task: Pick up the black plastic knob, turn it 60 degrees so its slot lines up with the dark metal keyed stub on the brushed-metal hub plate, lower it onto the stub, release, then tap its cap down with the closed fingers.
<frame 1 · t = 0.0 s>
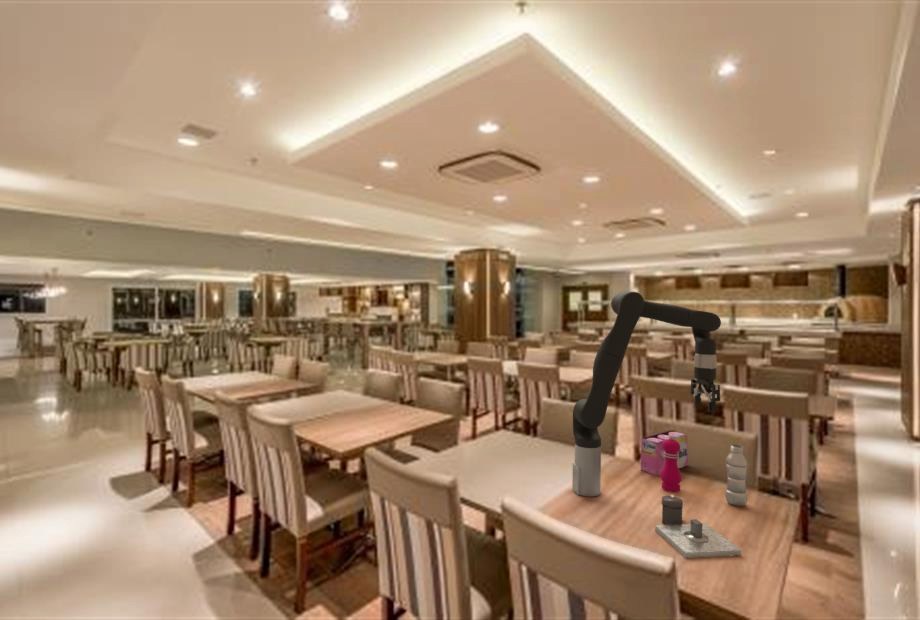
hand: (704, 409, 179), 29 cm above the table, fingers open, 8 cm apart
pepper mill: (670, 489, 177), on the table
plastic bottle: (736, 504, 164), on the table
gum box: (664, 468, 200), on the table
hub: (696, 542, 138), on the table
knob: (671, 521, 151), on the table
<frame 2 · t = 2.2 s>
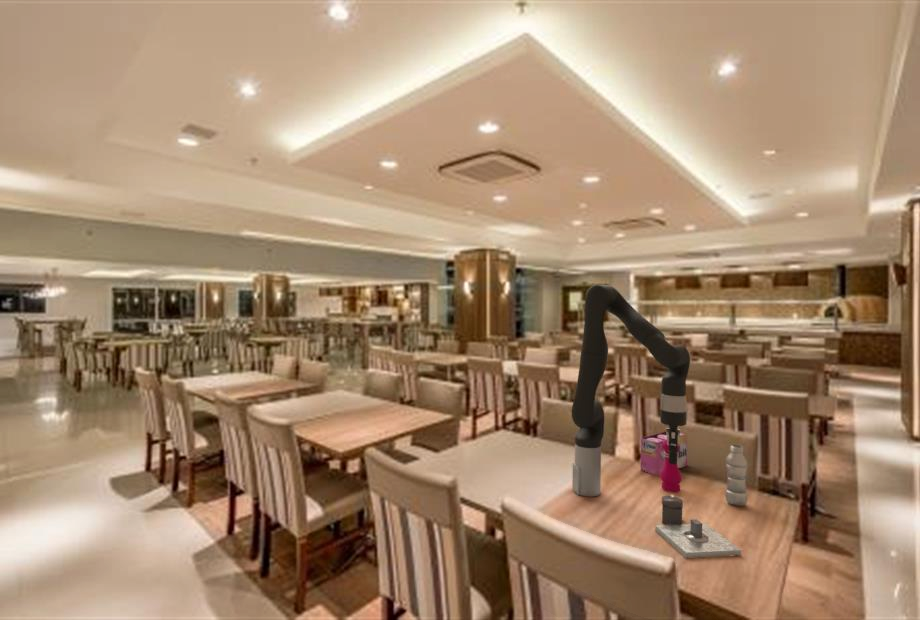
hand: (672, 460, 151), 19 cm above the table, fingers open, 8 cm apart
nothing on the table moved.
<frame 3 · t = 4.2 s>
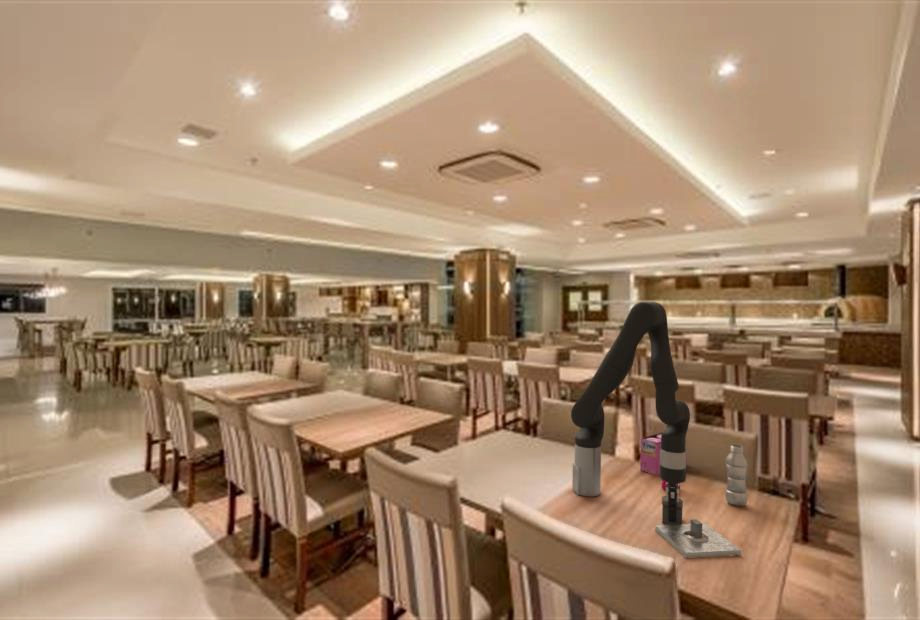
hand: (672, 517, 151), 1 cm above the table, fingers closed on knob, 6 cm apart
knob: (672, 521, 151), on the table, touching gripper
everything else where it was.
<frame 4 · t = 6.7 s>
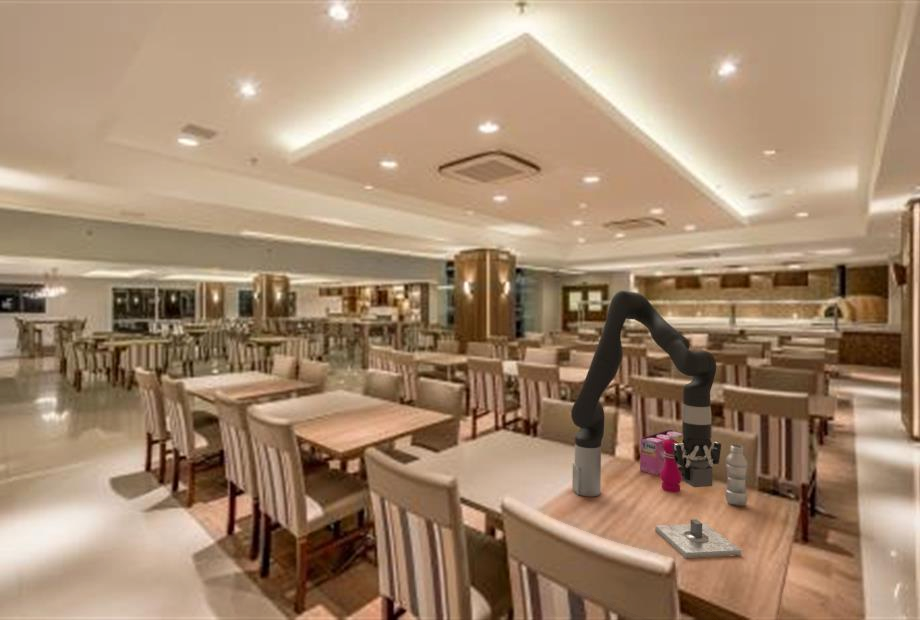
hand: (696, 478, 138), 18 cm above the table, fingers closed on knob, 6 cm apart
knob: (696, 483, 138), point 17 cm above the table, touching gripper
everything else where it was.
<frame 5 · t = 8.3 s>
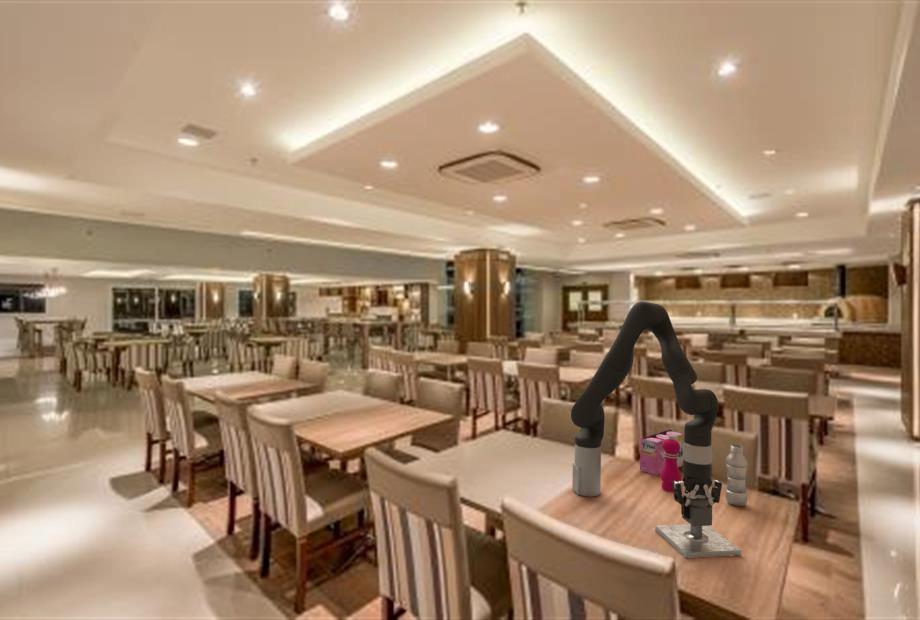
hand: (696, 517, 137), 7 cm above the table, fingers closed on knob, 6 cm apart
knob: (696, 521, 137), point 6 cm above the table, touching gripper
everything else where it was.
when the fingers open (4 cm above the table, at t = 9.5 s): knob stays where it is, resting on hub.
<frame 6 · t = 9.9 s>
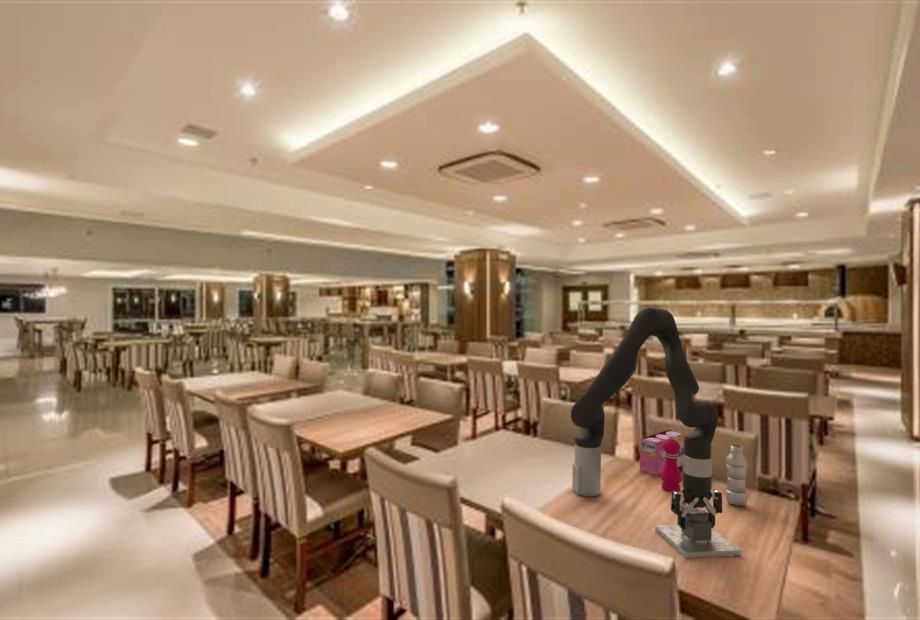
hand: (696, 527, 137), 4 cm above the table, fingers open, 8 cm apart
knob: (696, 536, 138), point 2 cm above the table, touching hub
everything else where it was.
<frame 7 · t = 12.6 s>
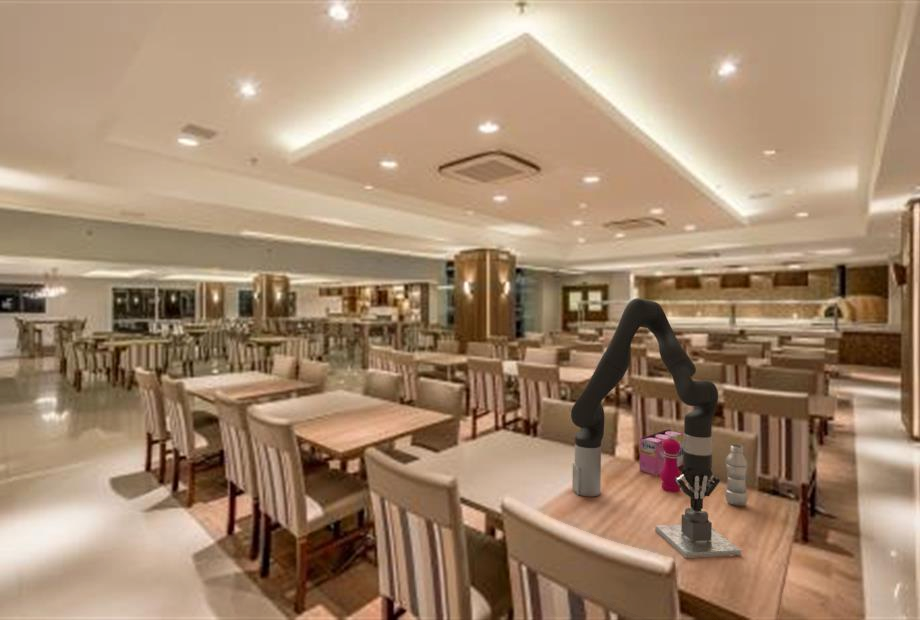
hand: (696, 510, 137), 9 cm above the table, fingers closed
knob: (696, 536, 138), point 2 cm above the table, touching gripper, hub
everything else where it was.
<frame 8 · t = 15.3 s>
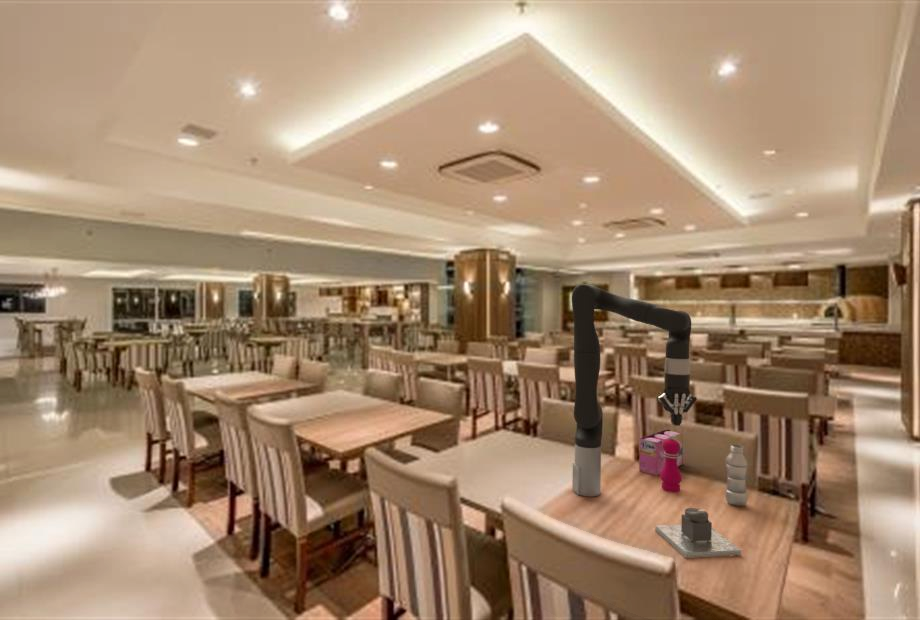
hand: (676, 425, 156), 29 cm above the table, fingers closed
knob: (696, 536, 138), point 2 cm above the table, touching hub
at the end: knob 0.0 cm off-centre on the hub, point 1.8 cm above the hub's base; knob tilted 0°; the gripper is holding nothing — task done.
